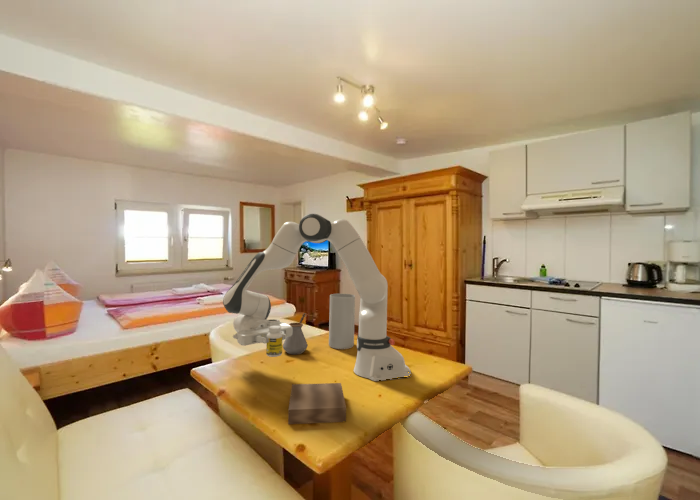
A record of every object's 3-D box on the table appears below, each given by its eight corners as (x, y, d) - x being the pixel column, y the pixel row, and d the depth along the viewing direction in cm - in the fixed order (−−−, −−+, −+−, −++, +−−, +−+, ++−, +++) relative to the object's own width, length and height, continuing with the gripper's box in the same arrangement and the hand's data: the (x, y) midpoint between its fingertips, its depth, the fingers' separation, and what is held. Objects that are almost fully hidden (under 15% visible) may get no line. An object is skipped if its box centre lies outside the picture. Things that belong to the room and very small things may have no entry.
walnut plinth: (340, 395, 105) (341, 383, 105) (345, 421, 89) (346, 407, 89) (291, 396, 103) (292, 384, 103) (288, 424, 87) (288, 409, 87)
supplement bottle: (267, 358, 108) (268, 329, 107) (265, 353, 113) (265, 325, 112) (283, 356, 110) (284, 328, 110) (280, 351, 115) (280, 324, 115)
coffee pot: (303, 356, 140) (304, 323, 140) (278, 354, 142) (279, 321, 142) (315, 342, 162) (316, 313, 161) (293, 341, 163) (294, 312, 163)
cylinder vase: (357, 343, 161) (358, 294, 161) (348, 351, 149) (349, 298, 149) (334, 340, 165) (335, 293, 165) (324, 347, 154) (325, 296, 153)
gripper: (231, 326, 114) (247, 335, 103) (281, 318, 127) (300, 325, 117) (230, 344, 114) (247, 354, 104) (281, 334, 127) (300, 342, 117)
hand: (275, 339), depth 110 cm, fingers closed on supplement bottle, 5 cm apart
